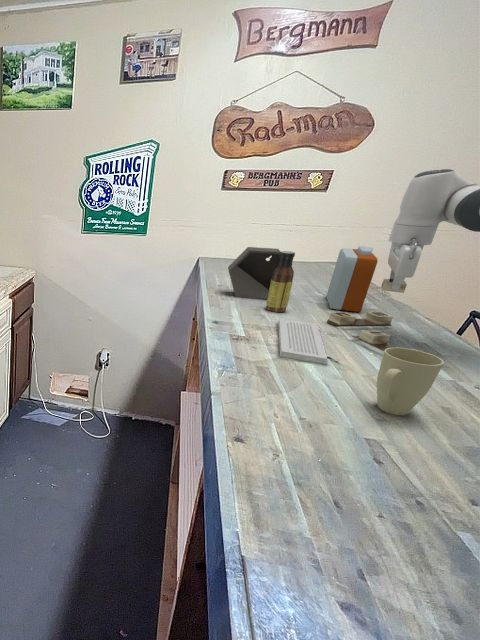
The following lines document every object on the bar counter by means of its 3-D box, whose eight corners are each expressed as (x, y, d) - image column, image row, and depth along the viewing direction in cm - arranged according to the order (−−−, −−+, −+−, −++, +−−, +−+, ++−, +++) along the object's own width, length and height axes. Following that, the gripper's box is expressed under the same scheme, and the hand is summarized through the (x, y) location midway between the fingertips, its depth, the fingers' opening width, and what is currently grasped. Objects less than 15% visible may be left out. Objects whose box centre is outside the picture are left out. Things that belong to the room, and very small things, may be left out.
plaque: (279, 318, 143) (317, 323, 139) (278, 323, 144) (315, 328, 140) (281, 351, 119) (327, 358, 115) (280, 356, 119) (325, 364, 115)
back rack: (375, 321, 146) (379, 310, 145) (391, 327, 141) (395, 316, 139) (325, 322, 145) (329, 311, 144) (339, 328, 140) (343, 317, 138)
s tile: (381, 286, 129) (384, 278, 128) (401, 289, 127) (405, 280, 126) (382, 290, 126) (385, 281, 124) (403, 293, 123) (407, 283, 122)
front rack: (370, 338, 132) (374, 327, 130) (420, 361, 117) (425, 348, 116) (350, 339, 131) (354, 327, 130) (397, 361, 117) (402, 348, 115)
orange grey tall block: (360, 313, 153) (381, 252, 145) (329, 309, 157) (348, 249, 149) (353, 300, 168) (372, 243, 160) (325, 297, 172) (342, 241, 164)
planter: (217, 282, 173) (262, 237, 162) (217, 278, 179) (259, 234, 168) (253, 310, 171) (301, 267, 160) (251, 305, 178) (297, 263, 167)
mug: (354, 394, 100) (373, 344, 95) (410, 403, 96) (432, 351, 92) (369, 418, 91) (390, 363, 86) (432, 429, 87) (458, 372, 82)
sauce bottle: (281, 308, 159) (296, 250, 151) (288, 313, 153) (304, 253, 145) (261, 307, 160) (275, 249, 152) (267, 312, 154) (282, 253, 146)
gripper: (434, 242, 111) (413, 297, 116) (421, 232, 126) (403, 281, 132) (401, 240, 114) (382, 293, 120) (392, 230, 130) (375, 278, 135)
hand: (393, 287), depth 126 cm, fingers closed on s tile, 4 cm apart
